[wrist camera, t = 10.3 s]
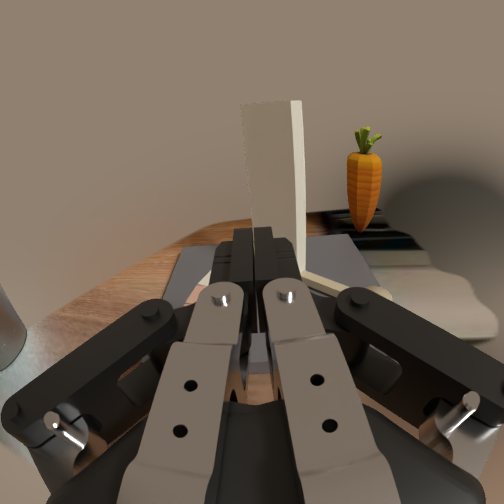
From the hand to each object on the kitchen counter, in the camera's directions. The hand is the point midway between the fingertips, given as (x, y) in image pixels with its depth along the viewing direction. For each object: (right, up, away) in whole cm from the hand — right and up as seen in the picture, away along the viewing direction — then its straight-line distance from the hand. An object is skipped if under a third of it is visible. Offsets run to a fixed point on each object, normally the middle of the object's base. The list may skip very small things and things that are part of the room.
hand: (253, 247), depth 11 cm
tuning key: (+5, -3, +14) cm, 15 cm away
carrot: (+15, +2, +25) cm, 30 cm away
